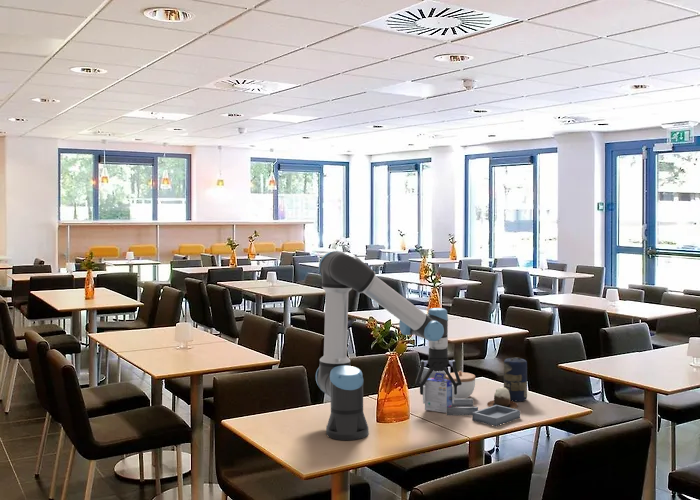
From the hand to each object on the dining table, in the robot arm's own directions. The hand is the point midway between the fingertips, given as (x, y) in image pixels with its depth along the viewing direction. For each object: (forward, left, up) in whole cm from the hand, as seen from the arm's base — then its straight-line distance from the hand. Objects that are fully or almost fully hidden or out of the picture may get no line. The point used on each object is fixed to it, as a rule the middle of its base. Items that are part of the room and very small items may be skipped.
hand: (438, 402), depth 276 cm
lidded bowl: (+12, +21, -4) cm, 24 cm away
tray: (+21, -12, -3) cm, 24 cm away
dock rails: (+9, 0, -3) cm, 9 cm away
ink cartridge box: (0, 0, -3) cm, 3 cm away
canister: (+34, +15, -4) cm, 37 cm away
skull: (+27, +7, -4) cm, 28 cm away
